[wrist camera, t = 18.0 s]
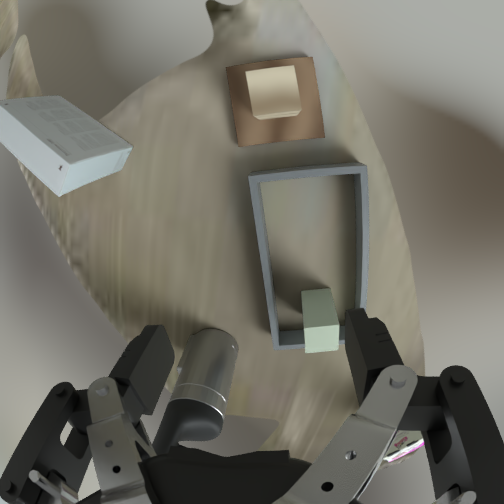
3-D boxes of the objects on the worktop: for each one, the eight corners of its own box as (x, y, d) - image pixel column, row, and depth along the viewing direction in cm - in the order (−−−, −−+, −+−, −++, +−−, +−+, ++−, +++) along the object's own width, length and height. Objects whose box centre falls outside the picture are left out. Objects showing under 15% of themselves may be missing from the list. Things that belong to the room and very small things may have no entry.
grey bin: (274, 335, 52) (273, 350, 48) (251, 172, 40) (248, 176, 37) (358, 327, 50) (362, 341, 46) (359, 162, 38) (366, 165, 34)
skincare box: (48, 119, 39) (-14, 128, 24) (59, 94, 36) (-4, 96, 22) (120, 174, 42) (57, 198, 28) (134, 146, 40) (71, 160, 26)
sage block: (302, 314, 49) (305, 353, 40) (301, 290, 47) (304, 328, 38) (330, 311, 49) (338, 349, 40) (330, 288, 47) (339, 324, 38)
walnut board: (240, 146, 39) (238, 147, 38) (227, 69, 34) (225, 67, 33) (323, 137, 37) (325, 137, 36) (311, 59, 32) (312, 56, 31)
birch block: (254, 85, 34) (245, 70, 25) (290, 80, 33) (293, 64, 24) (260, 120, 36) (253, 115, 27) (296, 115, 35) (301, 109, 26)
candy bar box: (378, 412, 61) (388, 463, 46) (369, 407, 60) (380, 459, 45) (414, 391, 57) (430, 442, 42) (406, 385, 56) (424, 438, 41)
